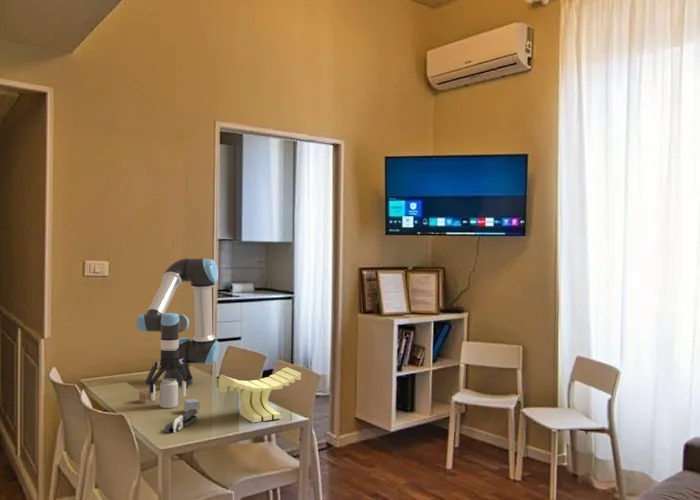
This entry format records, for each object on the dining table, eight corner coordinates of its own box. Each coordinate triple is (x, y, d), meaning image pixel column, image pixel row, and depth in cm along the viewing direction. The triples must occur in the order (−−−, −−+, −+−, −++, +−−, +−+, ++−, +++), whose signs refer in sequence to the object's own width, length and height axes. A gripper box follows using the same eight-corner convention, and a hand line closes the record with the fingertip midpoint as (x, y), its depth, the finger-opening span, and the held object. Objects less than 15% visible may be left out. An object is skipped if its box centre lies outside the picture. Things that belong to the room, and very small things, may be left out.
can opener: (177, 434, 225) (177, 421, 225) (161, 433, 226) (161, 419, 226) (200, 420, 244) (200, 407, 244) (186, 418, 245) (186, 406, 245)
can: (181, 405, 263) (181, 378, 263) (170, 410, 256) (171, 382, 256) (166, 404, 266) (167, 377, 266) (156, 408, 259) (156, 380, 259)
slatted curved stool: (283, 406, 266) (284, 365, 266) (300, 415, 252) (301, 372, 252) (218, 415, 250) (218, 372, 249) (232, 425, 236) (233, 380, 236)
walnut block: (148, 400, 272) (148, 389, 272) (155, 402, 269) (155, 391, 269) (139, 402, 268) (139, 391, 268) (145, 404, 265) (145, 393, 265)
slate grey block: (196, 410, 257) (196, 398, 257) (198, 413, 253) (199, 401, 253) (184, 411, 255) (184, 399, 255) (186, 414, 250) (187, 402, 250)
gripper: (193, 345, 271) (192, 392, 271) (137, 350, 256) (137, 400, 256) (200, 347, 265) (199, 395, 265) (143, 353, 250) (142, 403, 250)
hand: (168, 398), depth 261 cm, fingers open, 13 cm apart
